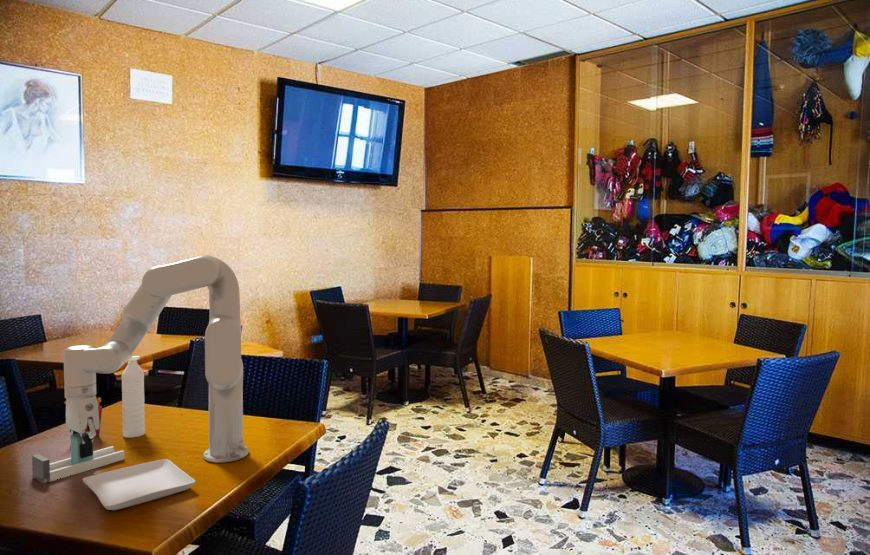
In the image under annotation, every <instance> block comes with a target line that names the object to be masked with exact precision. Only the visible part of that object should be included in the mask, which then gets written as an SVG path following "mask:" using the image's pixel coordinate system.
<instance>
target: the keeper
mask: <svg viewBox="0 0 870 555" xmlns="http://www.w3.org/2000/svg"><path fill="white" fill-rule="evenodd" d="M85 432H86V431H85ZM86 435H88V434H85V435H84V438H85V436H86ZM80 444H81V439H80V433H76V434H72V435H71V434H70V458H71V463H72V464H77V463H81V462H84V461H87V460H91V459H93V455H92V456H89V457H85V458H80Z"/></svg>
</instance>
